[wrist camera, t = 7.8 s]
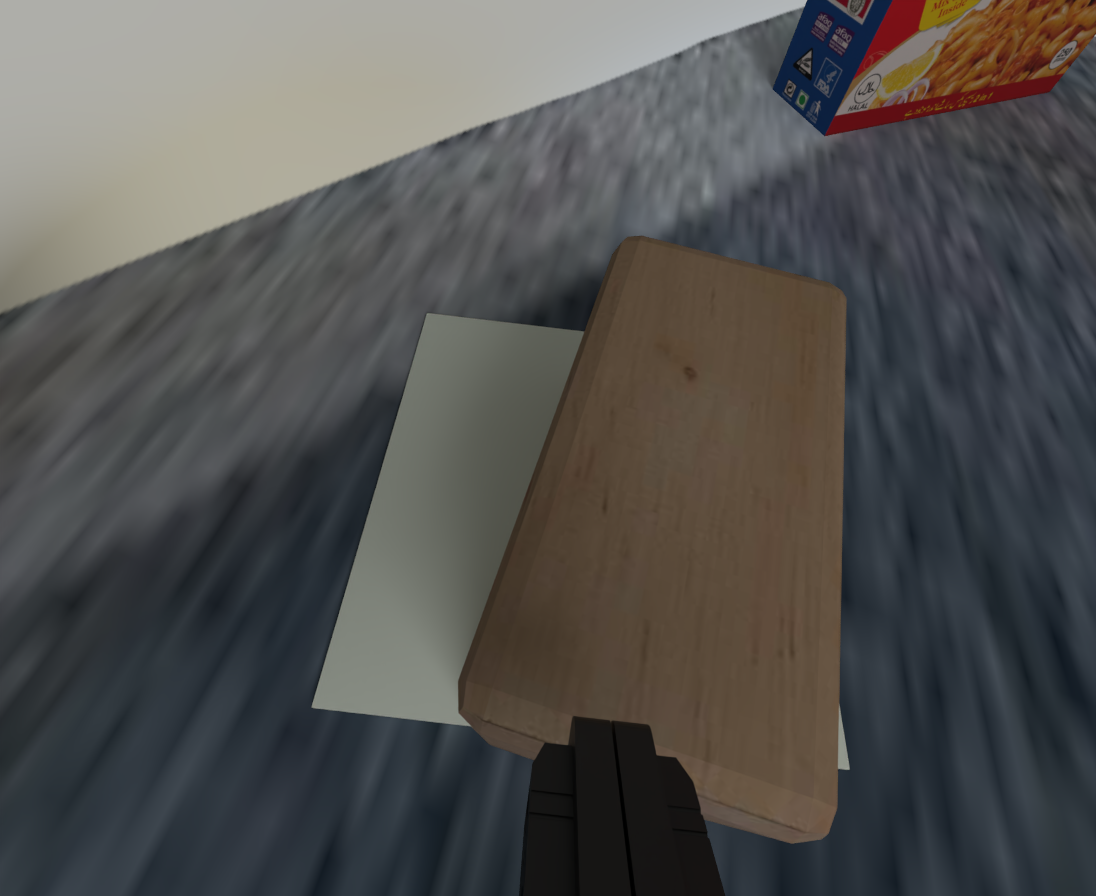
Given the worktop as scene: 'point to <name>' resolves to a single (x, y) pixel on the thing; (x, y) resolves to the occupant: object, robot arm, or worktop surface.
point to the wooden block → (686, 540)
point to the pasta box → (926, 56)
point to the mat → (446, 515)
